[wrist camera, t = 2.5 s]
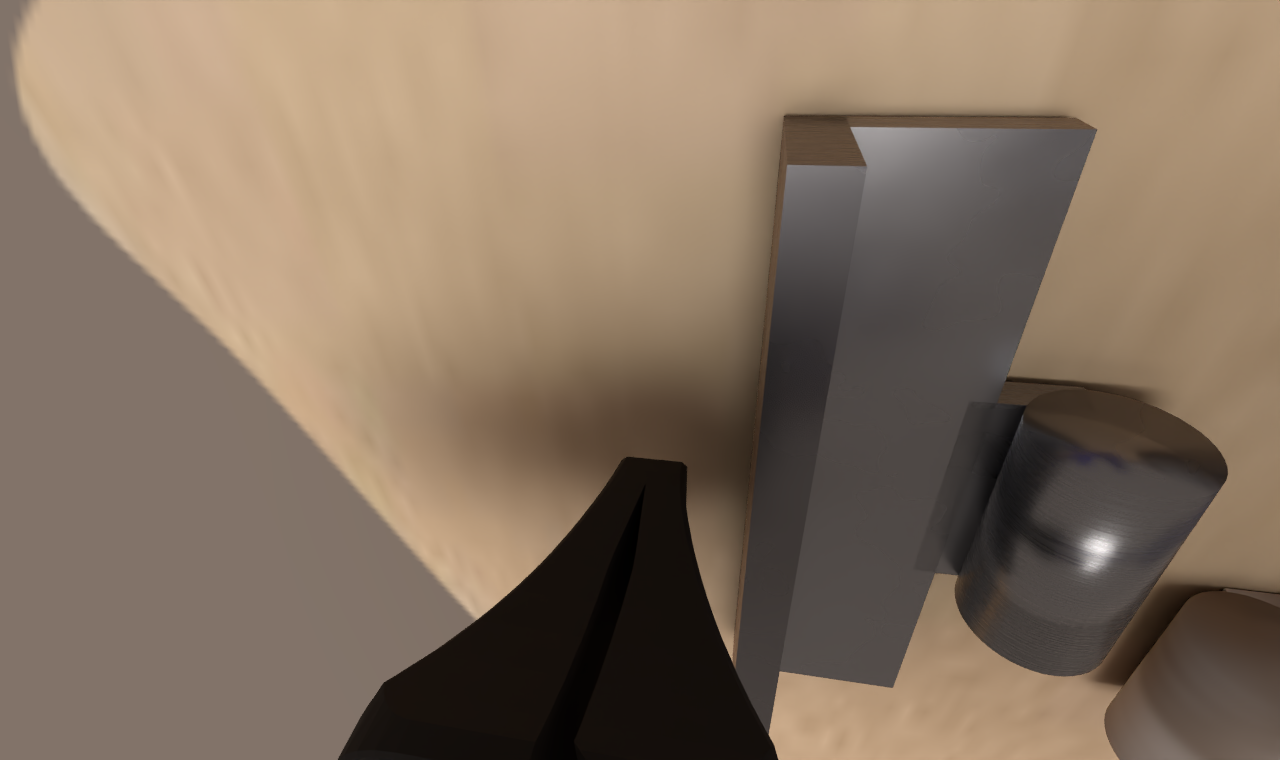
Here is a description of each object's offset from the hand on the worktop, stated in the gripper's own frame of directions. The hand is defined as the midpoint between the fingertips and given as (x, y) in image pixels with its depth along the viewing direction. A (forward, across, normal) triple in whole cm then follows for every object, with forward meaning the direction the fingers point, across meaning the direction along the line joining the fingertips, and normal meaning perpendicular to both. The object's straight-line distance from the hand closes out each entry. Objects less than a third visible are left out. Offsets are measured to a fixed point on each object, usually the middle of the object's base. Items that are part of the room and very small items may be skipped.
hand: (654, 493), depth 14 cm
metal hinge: (+2, -6, 0) cm, 6 cm away
